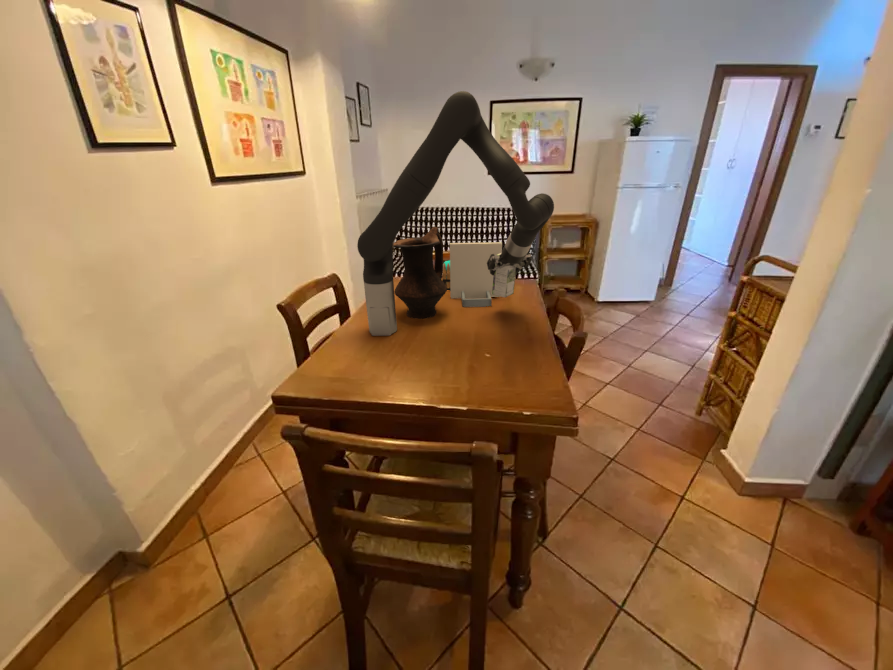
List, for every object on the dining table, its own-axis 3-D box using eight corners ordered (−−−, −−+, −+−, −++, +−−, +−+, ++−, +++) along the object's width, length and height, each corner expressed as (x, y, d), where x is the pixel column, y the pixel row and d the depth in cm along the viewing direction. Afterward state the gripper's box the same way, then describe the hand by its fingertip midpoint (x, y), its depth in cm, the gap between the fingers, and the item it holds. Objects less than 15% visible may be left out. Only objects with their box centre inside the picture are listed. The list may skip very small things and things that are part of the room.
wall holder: (503, 306, 143) (506, 248, 133) (451, 307, 143) (450, 249, 133) (498, 296, 153) (501, 242, 144) (450, 296, 153) (449, 243, 144)
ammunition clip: (442, 290, 161) (441, 263, 156) (442, 289, 163) (442, 262, 158) (466, 291, 160) (466, 264, 154) (467, 290, 161) (467, 262, 156)
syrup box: (500, 290, 137) (502, 251, 131) (514, 294, 134) (517, 254, 128) (491, 294, 133) (494, 254, 127) (505, 298, 130) (509, 256, 124)
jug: (424, 329, 124) (420, 238, 111) (385, 317, 134) (378, 232, 121) (461, 310, 139) (461, 228, 126) (423, 301, 149) (420, 224, 137)
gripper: (536, 235, 119) (520, 262, 134) (493, 236, 116) (482, 264, 131) (541, 255, 116) (524, 280, 131) (497, 257, 114) (485, 282, 129)
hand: (503, 272), depth 131 cm, fingers closed on syrup box, 8 cm apart
